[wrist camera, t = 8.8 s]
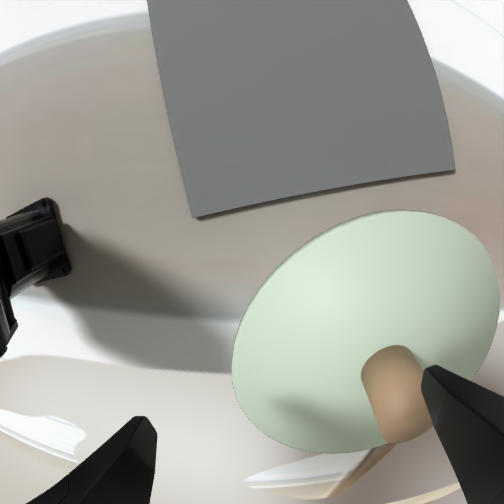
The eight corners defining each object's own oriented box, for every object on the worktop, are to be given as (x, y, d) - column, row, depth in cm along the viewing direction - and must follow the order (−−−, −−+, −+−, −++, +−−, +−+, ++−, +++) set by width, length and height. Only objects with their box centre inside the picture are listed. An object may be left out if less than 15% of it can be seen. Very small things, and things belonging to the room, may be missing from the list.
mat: (194, 217, 19) (192, 218, 18) (146, -14, 13) (145, -16, 13) (451, 169, 17) (454, 169, 17) (381, -41, 12) (383, -43, 11)
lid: (262, 458, 17) (261, 513, 12) (195, 244, 12) (158, 292, 8) (464, 405, 15) (489, 445, 11) (501, 192, 11) (564, 210, 6)
